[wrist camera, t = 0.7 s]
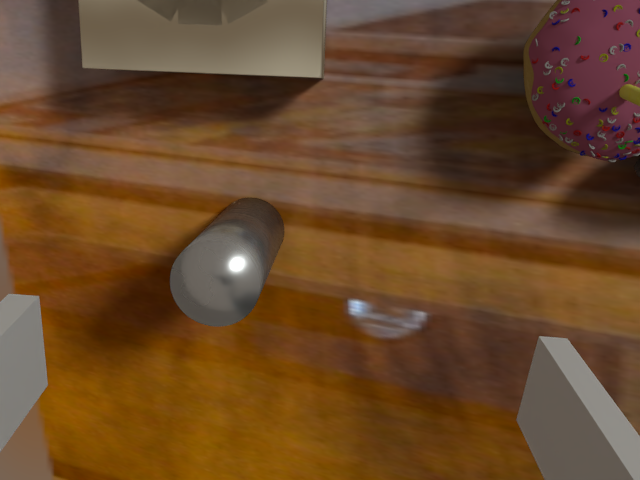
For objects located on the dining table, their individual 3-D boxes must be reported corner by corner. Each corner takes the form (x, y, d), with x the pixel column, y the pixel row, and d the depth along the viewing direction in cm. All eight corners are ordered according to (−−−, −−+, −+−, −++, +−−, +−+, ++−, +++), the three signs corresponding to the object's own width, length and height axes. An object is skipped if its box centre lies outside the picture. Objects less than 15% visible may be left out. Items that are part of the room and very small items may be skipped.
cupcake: (622, 165, 33) (767, 207, 22) (479, 126, 33) (548, 148, 22) (684, 10, 31) (883, -35, 20) (531, -33, 31) (640, -104, 19)
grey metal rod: (283, 263, 36) (259, 328, 26) (218, 260, 36) (170, 323, 26) (285, 199, 35) (260, 242, 25) (218, 195, 35) (168, 237, 25)
